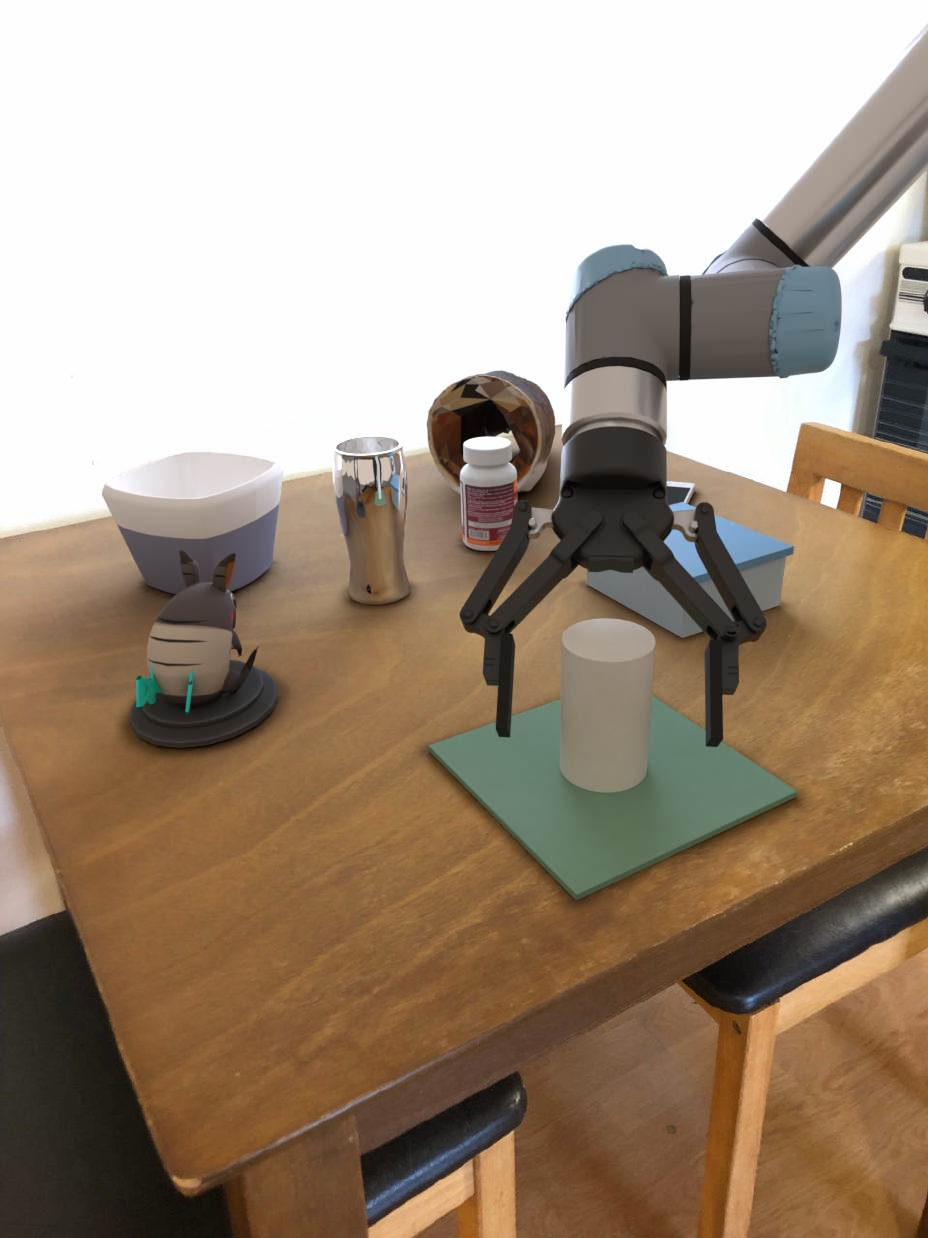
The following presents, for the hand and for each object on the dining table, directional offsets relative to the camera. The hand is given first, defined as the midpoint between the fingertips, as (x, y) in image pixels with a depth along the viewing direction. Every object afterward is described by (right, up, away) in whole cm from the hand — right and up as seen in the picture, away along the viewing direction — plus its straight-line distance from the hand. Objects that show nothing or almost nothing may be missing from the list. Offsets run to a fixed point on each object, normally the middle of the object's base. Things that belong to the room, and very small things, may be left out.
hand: (607, 738), depth 61 cm
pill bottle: (-6, +16, +43) cm, 46 cm away
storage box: (+12, +10, +29) cm, 33 cm away
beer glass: (-18, +10, +32) cm, 38 cm away
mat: (0, -3, +4) cm, 5 cm away
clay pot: (-4, +27, +65) cm, 71 cm away
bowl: (-36, +12, +37) cm, 53 cm away
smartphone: (+14, +21, +51) cm, 57 cm away
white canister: (0, -2, +4) cm, 5 cm away
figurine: (-30, +1, +14) cm, 33 cm away
